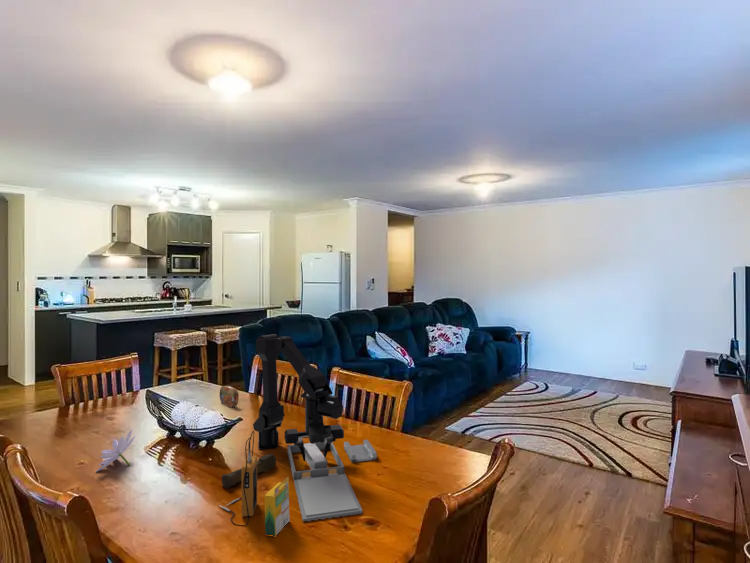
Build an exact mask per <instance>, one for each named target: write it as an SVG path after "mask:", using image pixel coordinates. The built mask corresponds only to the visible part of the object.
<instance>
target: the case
mask: <svg viewBox="0 0 750 563" xmlns="http://www.w3.org/2000/svg"><path fill="white" fill-rule="evenodd" d="M304 444H306V443H304ZM315 445H316V446H317V447H318V449H319V450H320V451H323V446H324V442H323V443H315ZM286 449H287V452H286V453H287V457H288V461H289V466H290V470H291V474H292V478H293V484H294V488H295V492H296V497H297V501H298V506H299V512H300V514H301V515H302V516H301V519H302V522H303V521H308V522H312V521H311V520H315V521H319V520H318V519H321V520H326V519H325V518H328V519H333V518H332V517H335V518H341V517H340V516H342V517H347V516H348V515H349V516H355V515H362V514H363V508H362V506H361V504H360V502H359V500H358V498H357V496H356V494H355V491H354V489H353V487H352V485H351V483H350V481H349V479H348V477H347V475H346V473H345V466H344V463H343V461H342V459H341V457H340V455H339V453H338V451H337V449H336V447H335V445H334V442H332V443H331V444H330V446H329V449H328V450H330V451H331V454H332V457H333V459H334V460H335V463H336V465H337V466H333V467H332V466H331V467H327V468H322V469H313V470H312V469H306V470H298V471H297V470H296V466H295V462H294V459H293V454H294V453H301V451H300V449H299V447H298V445H294V444H287V448H286ZM292 453H293V454H292Z"/></svg>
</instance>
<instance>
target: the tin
mask: <svg viewBox="0 0 750 563" xmlns="http://www.w3.org/2000/svg"><path fill="white" fill-rule="evenodd" d="M219 400H220V402H221V404H222V405H224V406H227V407H228V408H232V407H233V408H234V407H237V406H238V404H239V391H238V389H237V388H235V387H233V386H230V385H222V386H221V387H220V390H219Z"/></svg>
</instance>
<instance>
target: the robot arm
mask: <svg viewBox="0 0 750 563" xmlns="http://www.w3.org/2000/svg"><path fill="white" fill-rule="evenodd" d="M255 349H256V354H257V355H258V357H259V359H260V360H261V371H262V372H261V373H262V375H261V376H262V399H263V400H262V404H261V405H260V407H259V409H258V418H257V419H256V420H255V421H254V422H253V423H252V427H253V431H254V432H257V433H258V442H257V447H258V450H266V449H267V450H268V449H276V448H278V445H279V430H278V428H280V427H282V424H283V421H284V417H285V406H284V404H281V402H280V401H279V399H278V398H279V397H278V375H277V374H278V372H277V371H278V370H277V359H278V357H279V355H280V353H282V354H283V356H284V358H286V359H287V361H288V362H289V364H290V365H291V367H292V368H293V370H294V371H295V372H296V373H297V376H298V384H299V385H300V387H301V389H302V390H303V393H302V394H300V398H302V399H305V400H304V403H305V404H304V405H305V410H304V413H305V417H304V419H305V421H304V422H305V423H304V424H305V426H304V427H305V428H304V431H298V429H297V428H290V429H285V431H284V442H285V444H287V445H298V447H299V449H300V451H301V452H300V454H301V456H302V460H303V462H306V460H305V451H304V444H305V443H304V438H305V439H306V438H307V439H308V440H309V442H308V443H311V444H314V443H323V442H324V446H323V450H322V454H323V455H324V457H325V458H326V457H327V454H328V451H329V450H330V449H329V446H330V444H331V443H334V442H336V441H337V439H338V440H340V439H344V438H345V433H344V432H345V431H344V429H343V427H342V426H341V425H340V424H332V425H331V424H328V425H327V424H325V423H324V417H327V418H330V419H333V420H338V419H339V418H340V417H341V416H342V414H343V413H344V405H343V402H342V400H340V399H339V396H338V395H333V391H332V388H331V387H330V384H329V383H328V381H327V378H326V376H325V374H324V373H322V372H321V370H320V369H318V368H316V367H314V366H312V365H311V363H309V361H308V360H307V359H306V357H305V356H304V355H303V354H302V352H301V351H300V350H299V348H298V347H297V345H296V344H295V343H294V340H293V338H292V337H290V336H278V335H277V334H276V333H274V334H273V333H272V334H267V335H265V334H264V335H259V336H258V337H257V339H256V341H255ZM326 459H327V458H326Z"/></svg>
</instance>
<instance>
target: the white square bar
mask: <svg viewBox="0 0 750 563" xmlns="http://www.w3.org/2000/svg"><path fill="white" fill-rule="evenodd" d="M304 451H305V462H307V464H308V466H309V468H310V470H313V469H322V468H328V459H327V458H325V457H324V455H323V452H322V450H319V449H318V447H317V446H316V445H315V443H314V444H311V443H310V442H307V443H306V444H305V443H304Z"/></svg>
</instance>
